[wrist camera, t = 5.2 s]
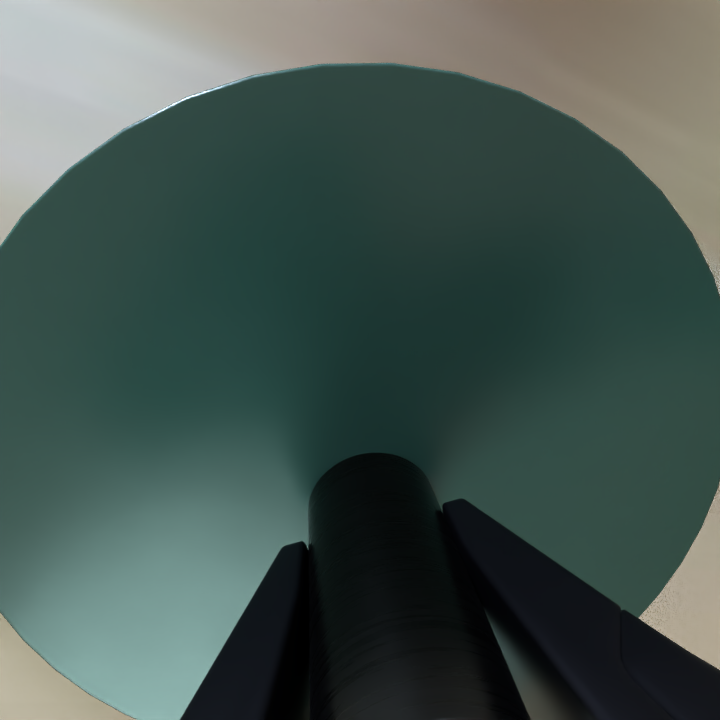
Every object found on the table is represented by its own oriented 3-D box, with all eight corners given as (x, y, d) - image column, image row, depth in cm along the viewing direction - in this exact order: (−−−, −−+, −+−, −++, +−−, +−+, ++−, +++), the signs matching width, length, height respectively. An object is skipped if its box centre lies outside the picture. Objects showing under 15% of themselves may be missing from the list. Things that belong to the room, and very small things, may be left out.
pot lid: (709, -22, 8) (1731, -553, 2) (686, 625, 14) (958, 939, 8) (-212, 205, 8) (-1750, 255, 2) (159, 772, 13) (50, 1209, 8)
